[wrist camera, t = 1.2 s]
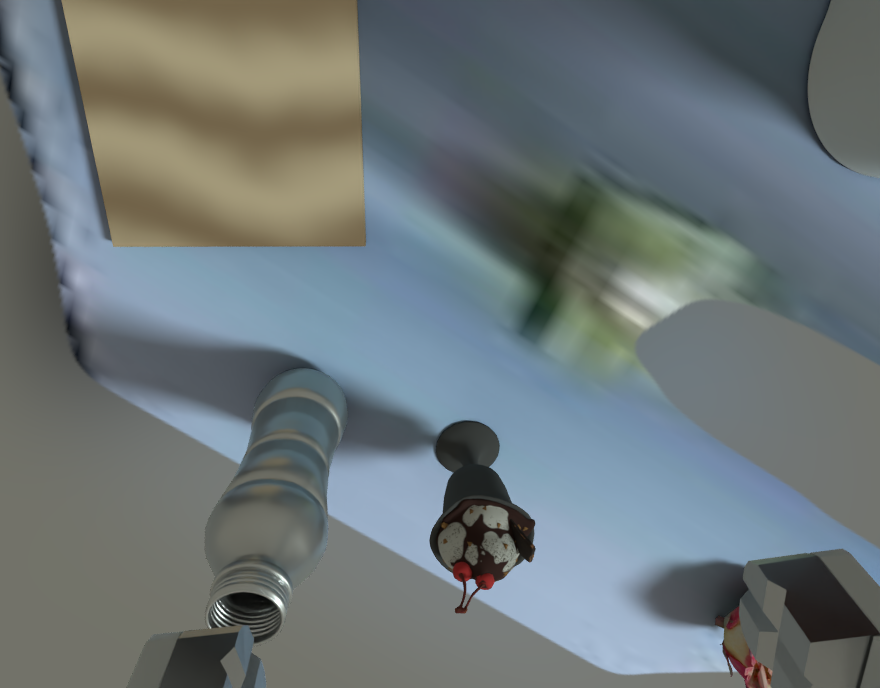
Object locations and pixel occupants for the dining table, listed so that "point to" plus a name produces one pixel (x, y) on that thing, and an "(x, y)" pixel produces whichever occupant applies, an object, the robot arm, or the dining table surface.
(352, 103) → the tan square board
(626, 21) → the dining table surface
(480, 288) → the dining table surface
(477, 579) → the sundae
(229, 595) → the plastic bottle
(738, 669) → the flower
